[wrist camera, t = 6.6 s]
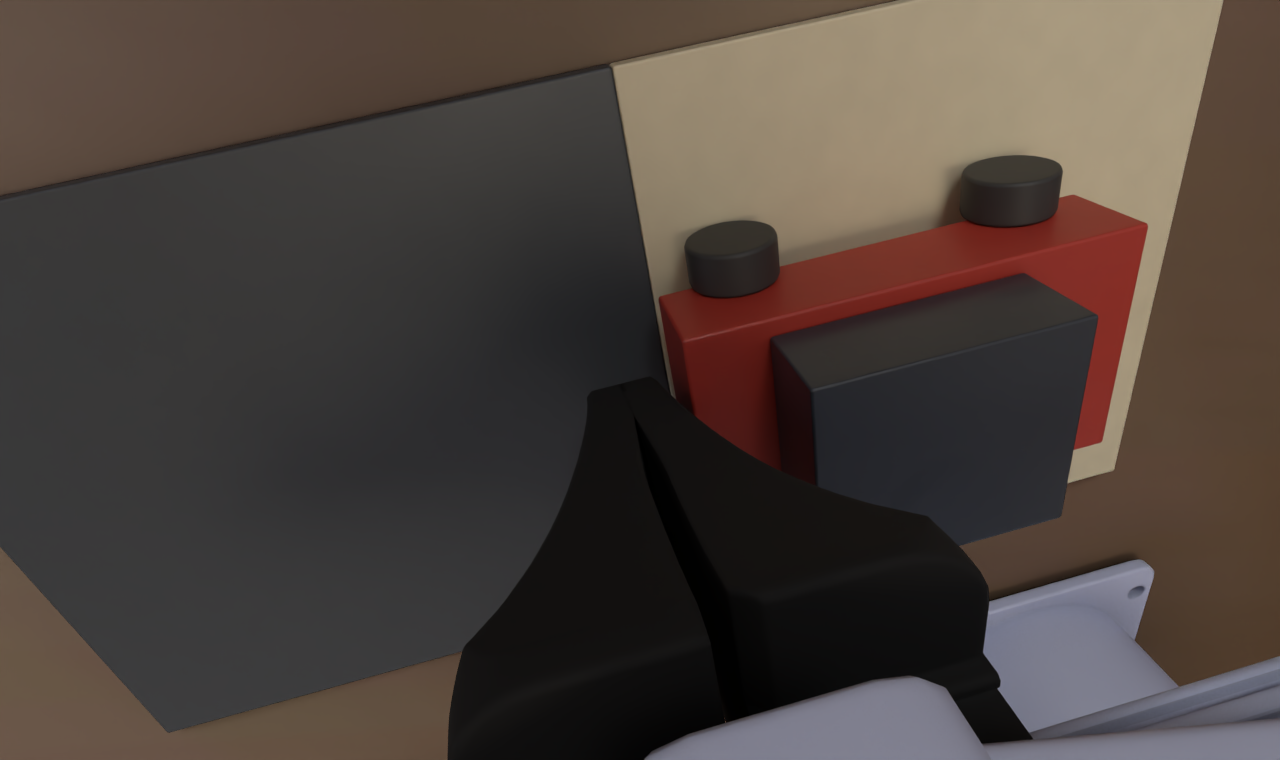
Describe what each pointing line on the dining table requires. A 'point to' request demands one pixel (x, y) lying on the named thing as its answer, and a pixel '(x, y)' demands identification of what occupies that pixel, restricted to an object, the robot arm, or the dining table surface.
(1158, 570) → the dining table surface
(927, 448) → the toy car
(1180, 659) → the dining table surface
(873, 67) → the road board
